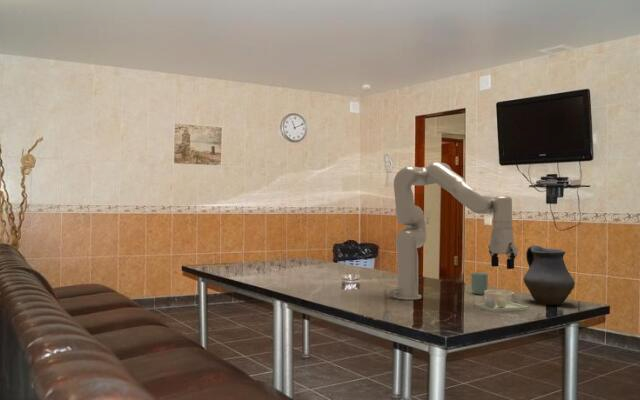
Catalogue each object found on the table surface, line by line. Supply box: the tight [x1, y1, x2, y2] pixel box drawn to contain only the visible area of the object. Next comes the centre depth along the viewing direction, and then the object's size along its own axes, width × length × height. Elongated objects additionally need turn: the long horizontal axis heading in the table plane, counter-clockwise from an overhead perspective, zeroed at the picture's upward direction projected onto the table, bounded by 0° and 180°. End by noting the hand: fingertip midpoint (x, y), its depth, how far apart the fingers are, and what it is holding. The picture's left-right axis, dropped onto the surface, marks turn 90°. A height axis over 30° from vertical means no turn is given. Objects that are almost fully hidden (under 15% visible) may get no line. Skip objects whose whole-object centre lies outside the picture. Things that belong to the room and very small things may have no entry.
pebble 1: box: [484, 299, 495, 308], centre depth 219 cm, size 4×4×4 cm
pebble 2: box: [496, 298, 507, 308], centre depth 221 cm, size 4×4×4 cm
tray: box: [474, 302, 530, 313], centre depth 221 cm, size 17×12×2 cm
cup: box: [470, 271, 489, 296], centre depth 258 cm, size 8×8×10 cm
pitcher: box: [522, 244, 576, 306], centre depth 235 cm, size 21×22×25 cm
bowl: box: [483, 289, 516, 303], centre depth 236 cm, size 12×12×4 cm
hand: (502, 267), depth 221 cm, fingers open, 9 cm apart
